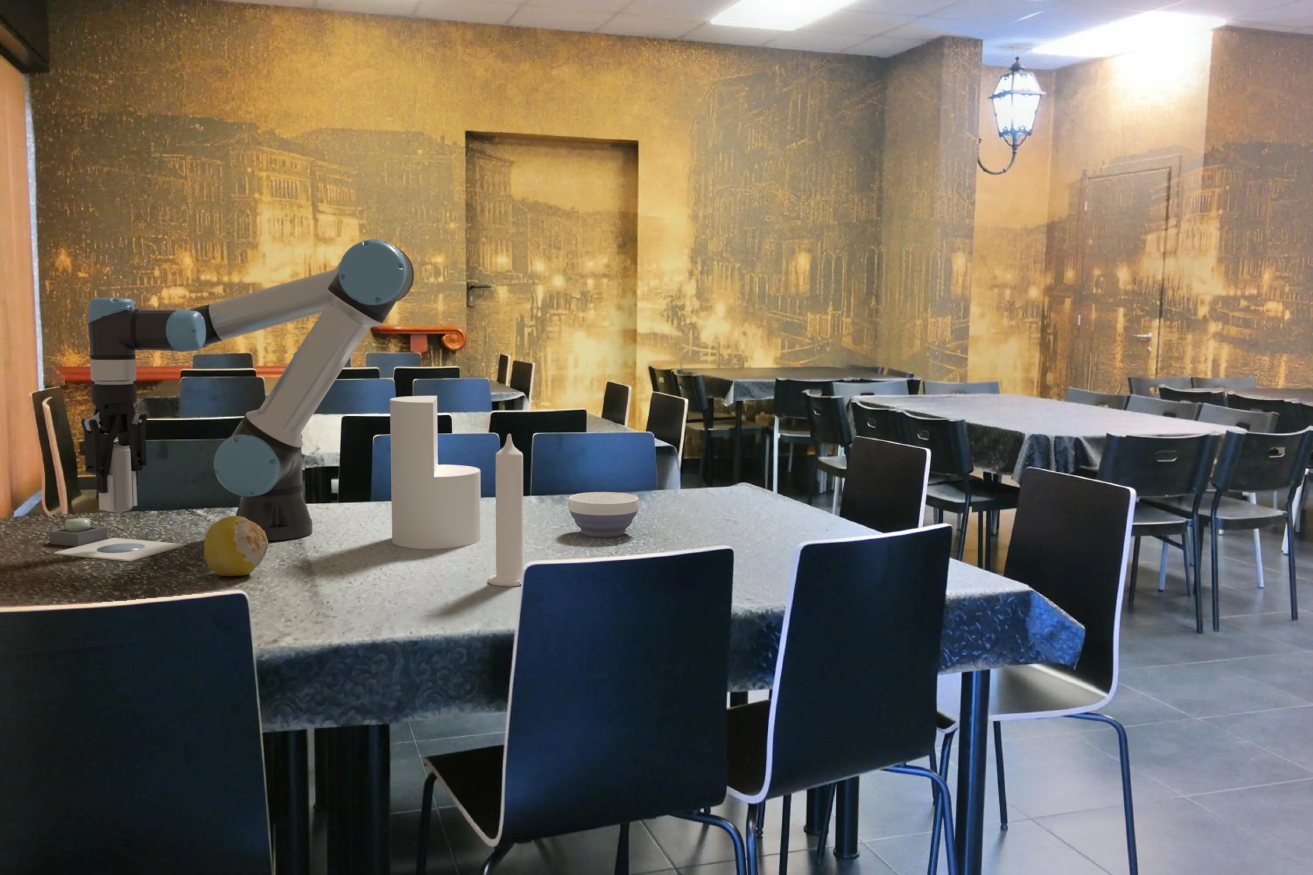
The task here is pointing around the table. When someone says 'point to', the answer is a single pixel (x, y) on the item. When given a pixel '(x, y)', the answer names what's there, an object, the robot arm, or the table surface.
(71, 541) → the button housing
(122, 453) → the beverage can
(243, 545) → the fruit
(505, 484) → the candle
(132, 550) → the paper sheet
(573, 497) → the bowl
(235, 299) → the robot arm
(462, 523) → the white notched round column
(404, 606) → the table surface
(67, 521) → the button
